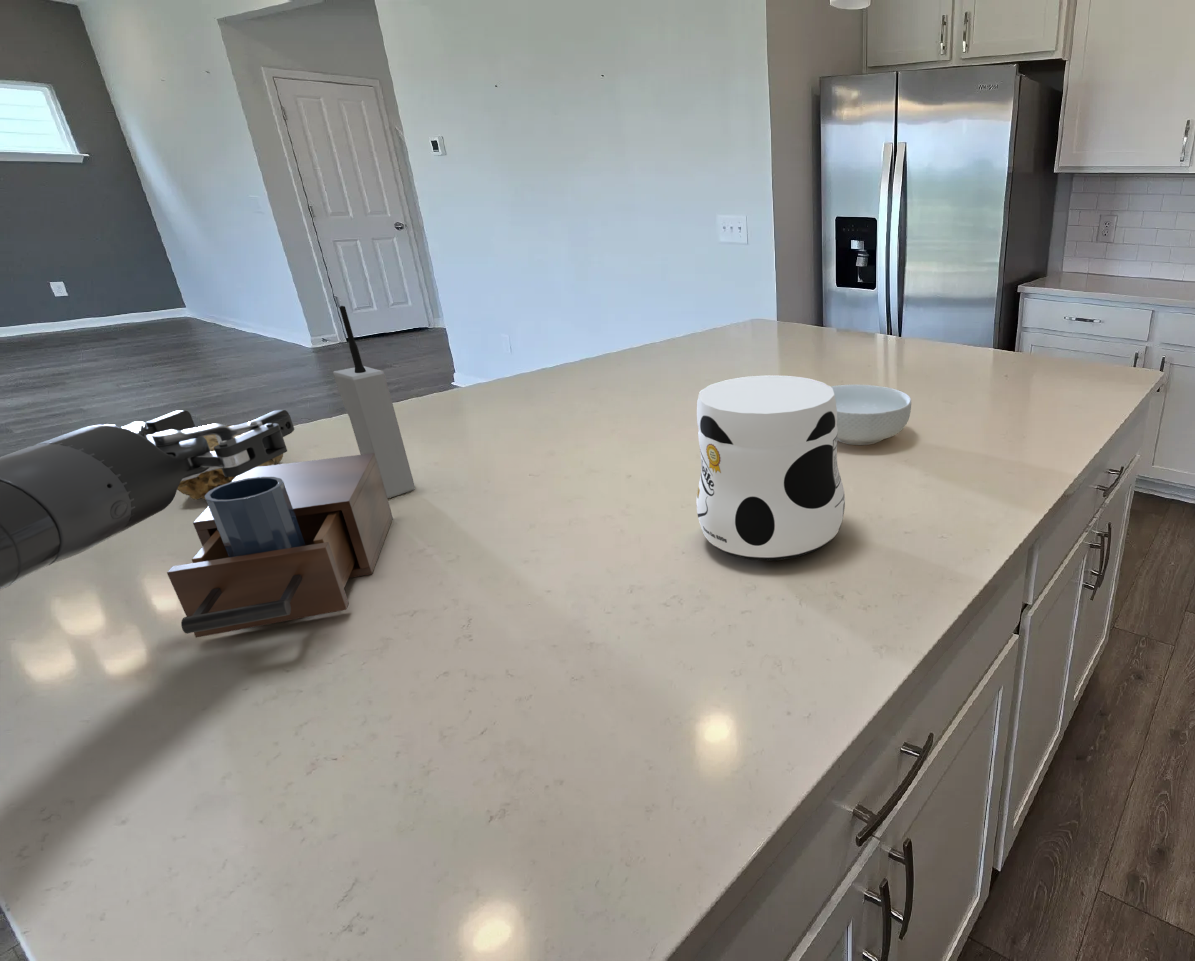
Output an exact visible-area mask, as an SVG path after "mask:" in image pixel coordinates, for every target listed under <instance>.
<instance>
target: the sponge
mask: <svg viewBox="0 0 1195 961" xmlns="http://www.w3.org/2000/svg"><path fill="white" fill-rule="evenodd" d="M235 425H236V424H232V425H231V424H229V425H225V426H226V427H230V426H235ZM246 433H247V432H246ZM242 434H245V433H242ZM242 434H237V435H234V436H233V438H235V437H238V436H240V435H242ZM203 437H204V438H205V439H206V440H207V443H208V445H209V448H210V451H211V452H214V451H215V450H214V447H215V446H217V445H219V443H218V441H217V438H216V435H208V436H203ZM283 457H284V453H283V454H281V455H279V456H277V457H275V458H273V459H271V460H269V461H267V462H265V463H263V464H261V465H259V466H257V467H261V466H270V465H278V464H280V462H281V461H282V460H283ZM235 477H236V476H235ZM235 477H225V476H224V474H223V471H222V468H219V469H215V470H212V471H208V472H204V473H201V474H200V475H199V476H198V477H196V478H192V479H188V480H184V481H181V482H180V484H179V486H178V489H177V491H179V492H180V493H181V494H183V495H186V496H188V497H189V498H190V499H192V500H200V499H202V500H205V501H206V499H205V495H206V494H207V493H208V492H209V491H210V490H212V489H214V488H216V487H218V486H221V485H224V484H227V483H230V482H232V481H233V479H234V478H235Z"/></svg>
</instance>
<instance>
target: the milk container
mask: <svg viewBox="0 0 1195 961" xmlns="http://www.w3.org/2000/svg"><path fill="white" fill-rule="evenodd" d="M696 423H697V428H698V432H697V437H698V445H699V446H698V447H699V453H700V475H699V476H700V477H699V482H698V486H697V490H696V491H697V493H696V514H697V518H698V522H699V525H700V528H701V532H702V534H703V536H704V537H705V538H706V540H707V541H708V542H709V544H710V545H711V546H713V547H714V548H715V549H717V550H719V551H721V552H723V553H725V554H728V555H729V556H732V557H738V558H743V559H745V560H749V561H771V562H773V561H781V560H787V559H788V560H789V559H795V558H800V557H802V556H804V555H808V554H811V553H813V552H816V551H818V550H820V549H821V548H823V547H825V546H826V545H827V544H829V543H830V542H832V541H833V540H834V539H835V537H836V536H837V534H838V532H839V531H840V529H841V528H842V524H843V519H844V515H845V509H846V494H845V488H844V484H843V480H842V478H841V477H842V476H841V474H840V470H839V466H838V465H839V464H838V440H837V433H838V429H837V407H836V399H835V395H834V391H833V388H832V387H830V385H829V384H827V383H825V382H823V381H819V380H816V379H812V378H809V377H803V376H794V375H782V374H781V375H780V374H779V375H776V374H775V375H774V374H773V375H772V374H770V375H769V374H765V375H749V376H741V377H734V378H729V379H725V380H721V381H718V382H714V383H711V384H709V385H707V386H705V387H704V388H702V389H701V390H699V393H698V395H697V401H696Z"/></svg>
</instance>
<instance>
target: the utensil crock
mask: <svg viewBox="0 0 1195 961" xmlns="http://www.w3.org/2000/svg"><path fill="white" fill-rule="evenodd" d="M205 499H206V500H205ZM205 499H204V500H205V501H206V504H207V507H208V506H209V509H210V511H211V514H212V516H213V519H214V521H215V524H216V526H217V529H218V531H219V534H220V536H221V539H222V541H223V544H224V546H225V549H226V551H227V554H228V556H229V557H236V556H242V555H249V554H255V553H261V552H268V551H274V550H281V549H287V548H294V547H300V546H306V545H305V542H304V539H303V536H302V534H301V531H300V528H299V525H298V522H297V519H296V516H295V514H294V511H293V508H292V505H291V502H290V499H289V496H288V493H287V491H286V488H285V485H284V482H283V481H282V479H281V478H277V477H255V478H247V479H242V480H238V481H233V482H230V483H227V484H224V485H221V486H218V487H216V488H214V489H212V490H210V491H209V492H208V493H207V494H206V495H205Z"/></svg>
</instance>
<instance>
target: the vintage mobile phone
mask: <svg viewBox="0 0 1195 961" xmlns="http://www.w3.org/2000/svg"><path fill="white" fill-rule="evenodd" d="M338 309H339V311H340V312H339V313H340V315H341V318H342V322H343V325H344V329H345V333H346V336H347V340H348V347H349V351H350V354H351V358H352V361H353V365H354V366H353V367H349V368H343V369H339V370H334V371H332V376H333V378H334V381H335V385H336V387H337V390H338V392H339V396H340V398H341V399H340V400H341V402H342V404H343V408H344V410H345V411H346V413H347V416H348V418H349V420H350V424H351V428H352V430H353V434H354V437H355V438H354V439H355V441H356V444H357V448H358V451H359V455H363V454H371V453H375V457H376V460H377V464H378V467H379V471H380V474H381V478H382V481H383V484H384V488H385V491H386V495H387V498H388V499H391V498H394V497H397V496H400V495H403V494H406V493H409V492H412V491H414V490H415V489H416V485H415V482H414V478H413V474H412V471H411V467H410V463H409V460H408V455H407V451H406V448H405V445H404V441H403V438H402V433H401V429H400V426H399V422H398V418H397V415H396V411H395V408H394V404H393V399H392V396H391V393H390V389H389V385H388V381H387V378H386V374H385V372H384V371H383V370H380V369H376V368H373V367H369V366H365V365H364V364H363V361H362V358H361V354H360V351H359V347H358V344H357V343H356V341H355V336H354V333H353V330H352V326H351V322H350V319H349V316H348V312H347V309H346V306H345V305H340V306H339V307H338Z"/></svg>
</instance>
